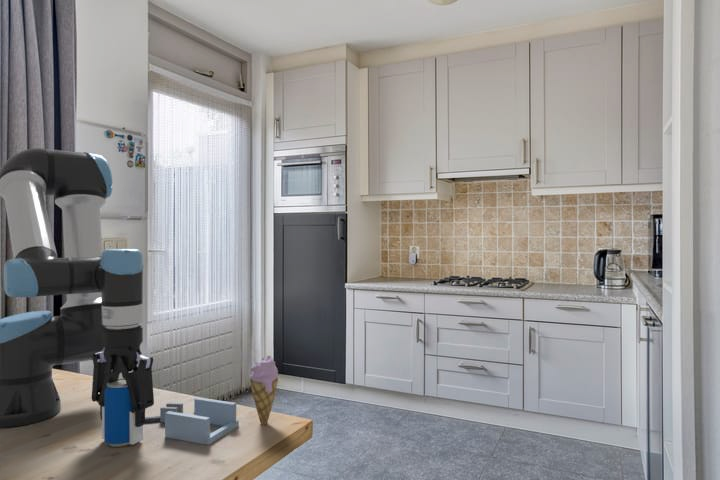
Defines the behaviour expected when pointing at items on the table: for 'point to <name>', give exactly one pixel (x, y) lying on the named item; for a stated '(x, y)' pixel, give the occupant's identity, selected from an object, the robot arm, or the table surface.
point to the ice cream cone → (264, 386)
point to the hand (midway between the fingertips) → (122, 438)
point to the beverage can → (117, 413)
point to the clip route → (169, 407)
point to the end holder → (202, 421)
